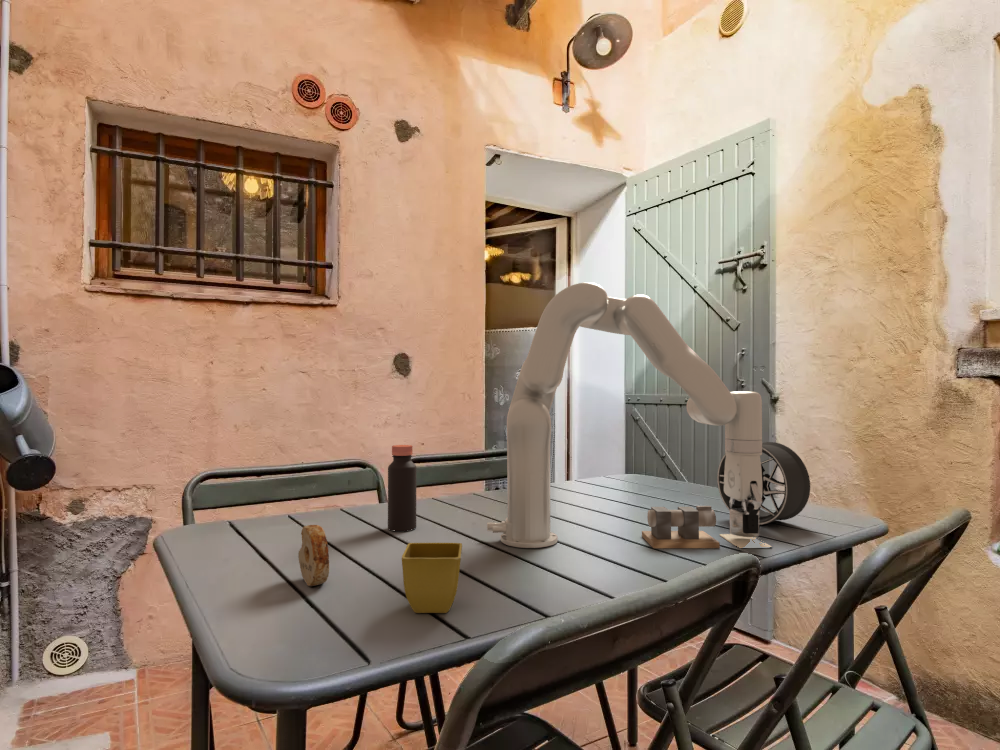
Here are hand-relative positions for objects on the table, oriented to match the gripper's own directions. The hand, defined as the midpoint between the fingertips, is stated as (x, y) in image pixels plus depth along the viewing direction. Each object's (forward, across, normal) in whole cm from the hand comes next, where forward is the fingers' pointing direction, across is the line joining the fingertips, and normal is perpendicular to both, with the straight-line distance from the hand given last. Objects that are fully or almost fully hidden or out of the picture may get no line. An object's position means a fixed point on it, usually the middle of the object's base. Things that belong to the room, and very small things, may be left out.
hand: (744, 528), depth 129 cm
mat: (+3, 0, 0) cm, 3 cm away
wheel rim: (+3, -19, +13) cm, 23 cm away
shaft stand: (+3, 0, -14) cm, 15 cm away
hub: (+1, 0, 0) cm, 1 cm away
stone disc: (+4, +26, -86) cm, 90 cm away
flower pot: (+3, +38, -64) cm, 75 cm away
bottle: (+3, -13, -77) cm, 78 cm away
